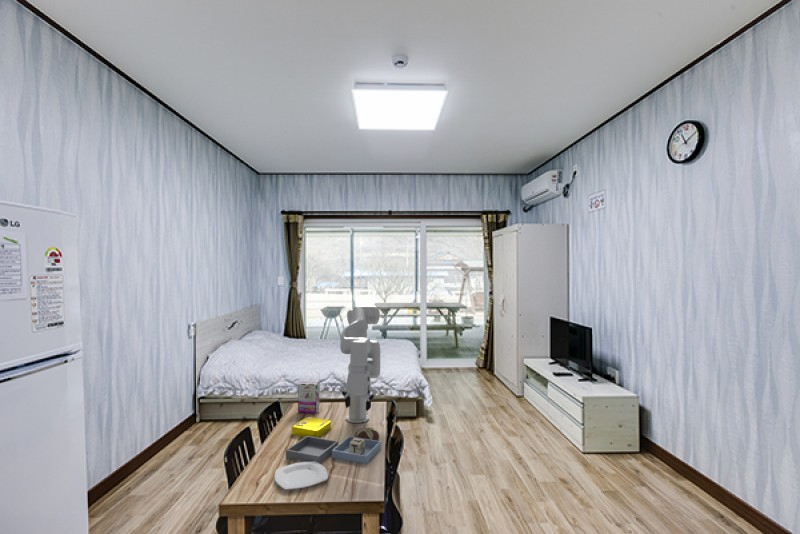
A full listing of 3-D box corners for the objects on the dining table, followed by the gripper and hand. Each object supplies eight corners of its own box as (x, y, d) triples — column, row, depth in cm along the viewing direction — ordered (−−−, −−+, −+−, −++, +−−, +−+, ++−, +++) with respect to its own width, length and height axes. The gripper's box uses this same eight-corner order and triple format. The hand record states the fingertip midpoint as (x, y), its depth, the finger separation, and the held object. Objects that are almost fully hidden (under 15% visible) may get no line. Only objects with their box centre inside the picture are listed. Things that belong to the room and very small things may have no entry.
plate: (269, 473, 151) (270, 468, 151) (318, 462, 160) (318, 458, 160) (280, 498, 134) (280, 492, 134) (333, 484, 144) (333, 479, 144)
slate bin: (348, 443, 178) (349, 436, 179) (380, 449, 173) (381, 441, 173) (331, 458, 163) (331, 450, 164) (366, 465, 158) (366, 456, 158)
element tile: (316, 440, 183) (316, 430, 183) (289, 435, 188) (290, 425, 188) (332, 428, 197) (332, 419, 197) (307, 424, 202) (307, 415, 202)
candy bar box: (319, 411, 222) (320, 382, 222) (316, 414, 217) (316, 384, 218) (301, 409, 224) (301, 381, 224) (297, 412, 219) (298, 383, 219)
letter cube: (354, 449, 171) (354, 437, 172) (364, 451, 170) (364, 439, 170) (349, 454, 167) (349, 442, 167) (359, 456, 165) (359, 444, 165)
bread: (359, 446, 177) (359, 435, 177) (352, 436, 187) (353, 426, 188) (382, 442, 181) (382, 431, 181) (374, 433, 192) (374, 423, 192)
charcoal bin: (306, 443, 178) (307, 435, 178) (337, 449, 173) (337, 441, 173) (285, 458, 163) (285, 450, 163) (318, 465, 157) (319, 456, 158)
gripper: (380, 368, 170) (379, 408, 169) (345, 365, 176) (344, 403, 175) (373, 372, 163) (372, 413, 162) (337, 368, 169) (336, 408, 168)
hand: (357, 408), depth 169 cm, fingers open, 9 cm apart
